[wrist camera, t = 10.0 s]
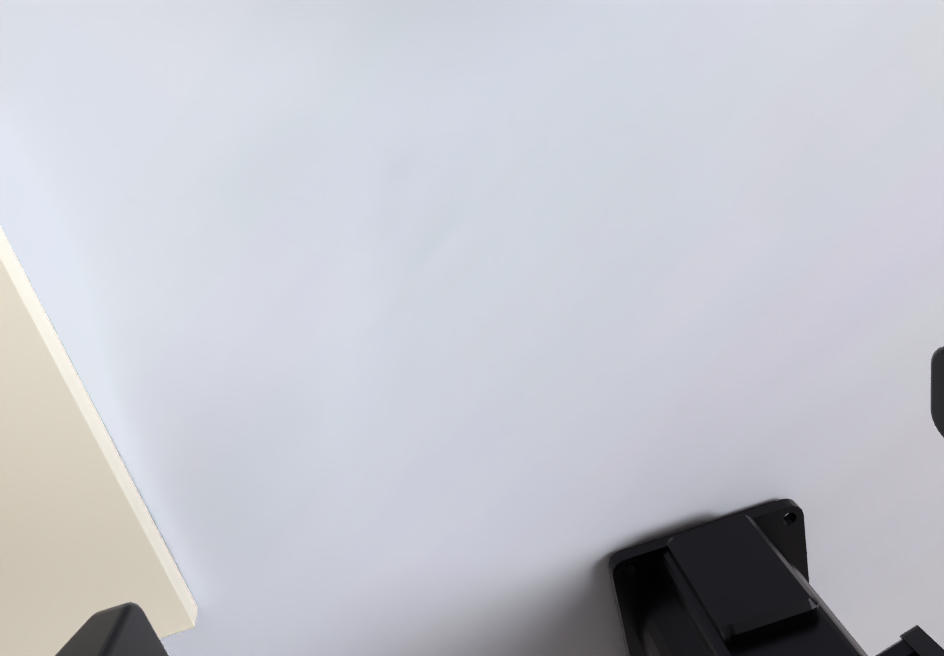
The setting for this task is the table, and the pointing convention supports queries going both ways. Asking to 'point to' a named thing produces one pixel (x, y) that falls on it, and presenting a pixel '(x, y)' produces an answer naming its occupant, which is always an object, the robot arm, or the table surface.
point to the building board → (66, 496)
